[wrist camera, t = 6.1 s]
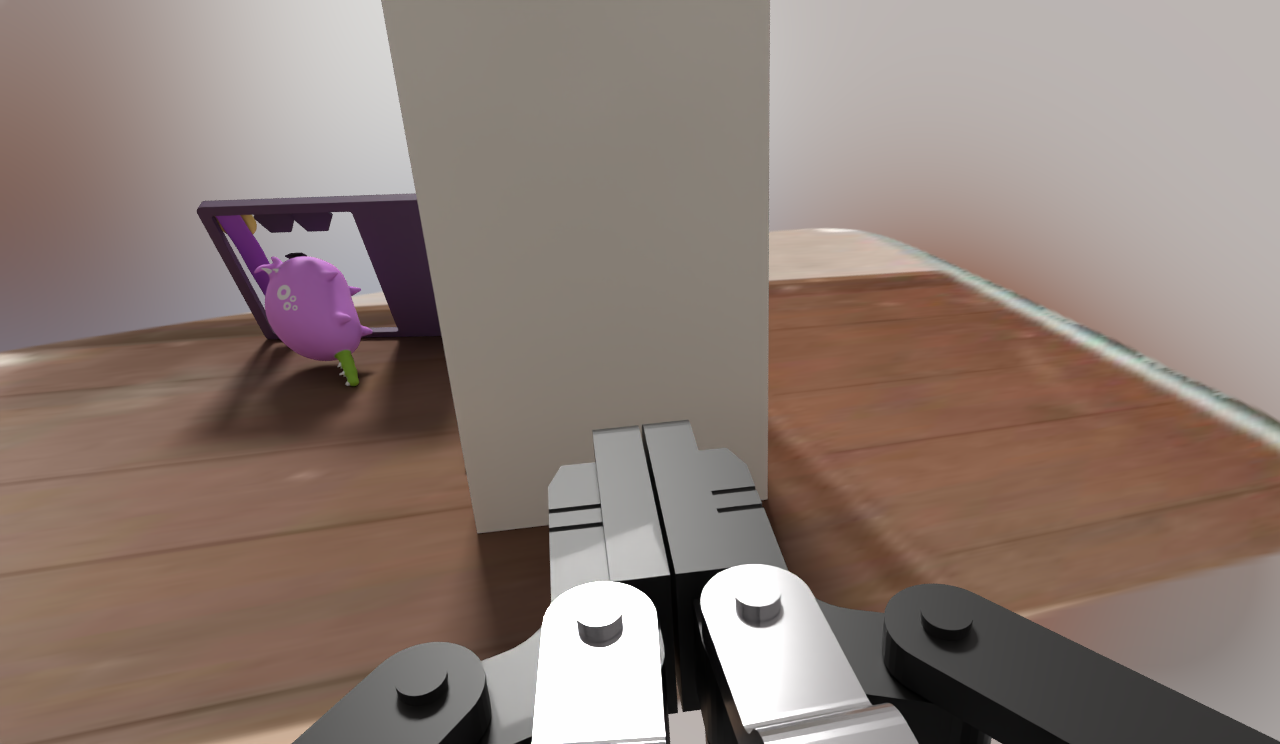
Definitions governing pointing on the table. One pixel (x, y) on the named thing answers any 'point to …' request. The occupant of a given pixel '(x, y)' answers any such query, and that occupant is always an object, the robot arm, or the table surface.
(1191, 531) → the table surface
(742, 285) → the off-white rectangular block
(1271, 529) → the table surface
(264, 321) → the purple frame
